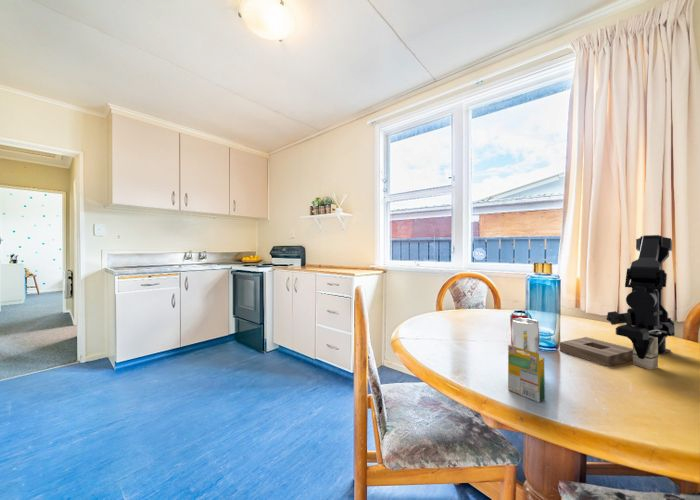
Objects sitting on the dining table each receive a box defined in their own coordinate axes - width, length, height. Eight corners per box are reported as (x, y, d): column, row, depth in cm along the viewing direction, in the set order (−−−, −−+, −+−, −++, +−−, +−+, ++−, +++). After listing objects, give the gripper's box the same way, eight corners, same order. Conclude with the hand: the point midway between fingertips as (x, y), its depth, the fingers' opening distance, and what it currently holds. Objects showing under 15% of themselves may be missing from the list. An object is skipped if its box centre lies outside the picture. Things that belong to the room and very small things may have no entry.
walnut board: (586, 344, 104) (586, 336, 104) (636, 358, 91) (636, 349, 91) (559, 350, 98) (559, 342, 98) (608, 366, 85) (608, 356, 85)
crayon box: (545, 399, 67) (545, 351, 67) (539, 403, 65) (539, 353, 65) (513, 386, 73) (513, 342, 73) (507, 390, 72) (507, 344, 71)
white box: (530, 379, 77) (530, 325, 77) (506, 369, 84) (506, 319, 83) (545, 373, 81) (544, 321, 80) (520, 364, 87) (520, 316, 87)
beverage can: (530, 349, 99) (530, 316, 99) (514, 349, 100) (514, 315, 100) (524, 345, 104) (524, 312, 104) (509, 344, 105) (508, 312, 105)
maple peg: (640, 362, 88) (639, 333, 88) (658, 367, 84) (658, 337, 84) (632, 364, 86) (632, 335, 86) (650, 369, 83) (650, 339, 82)
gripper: (628, 299, 96) (628, 344, 96) (595, 304, 89) (595, 352, 89) (675, 305, 86) (675, 356, 86) (641, 311, 79) (641, 366, 79)
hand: (645, 357), depth 85 cm, fingers closed on maple peg, 4 cm apart
